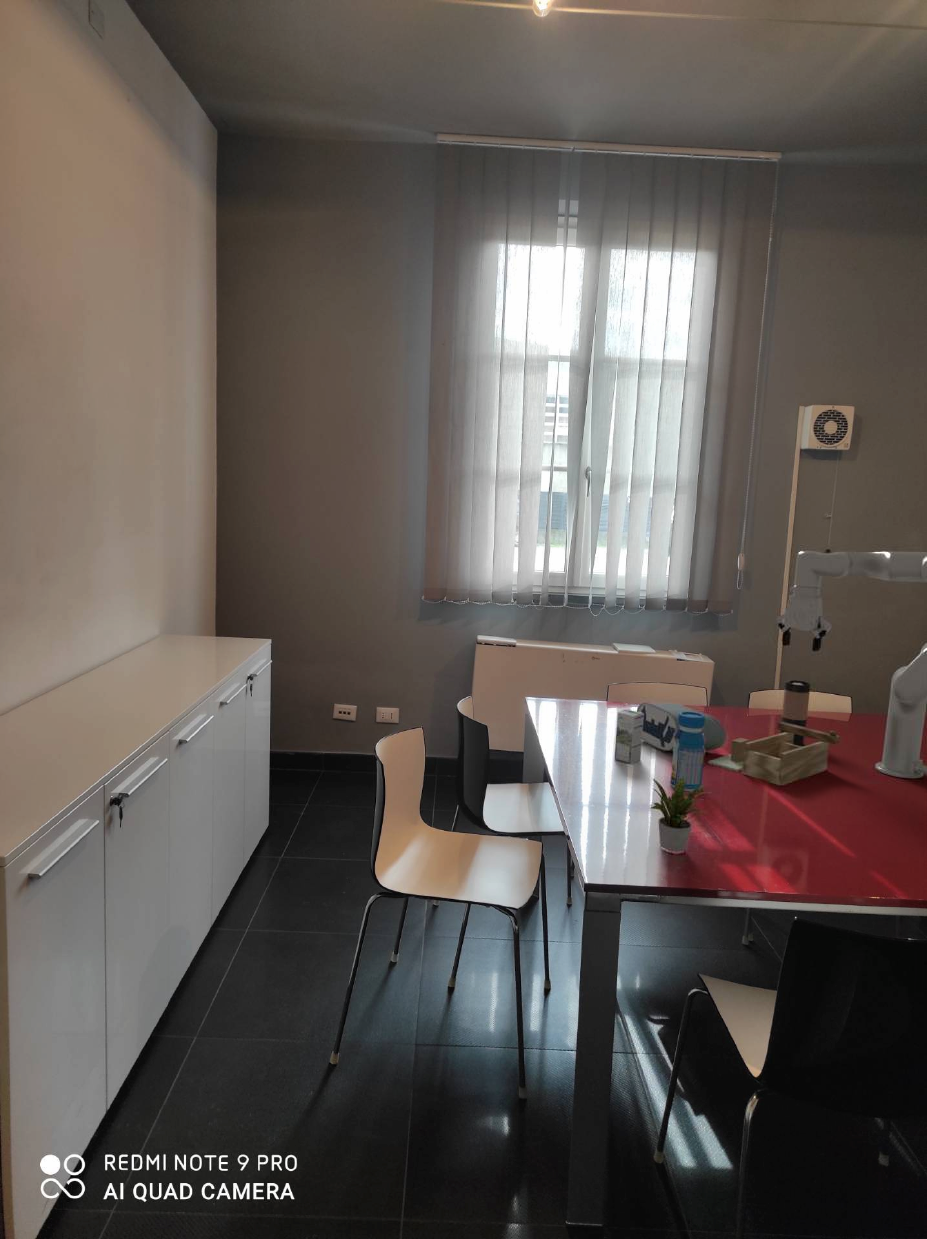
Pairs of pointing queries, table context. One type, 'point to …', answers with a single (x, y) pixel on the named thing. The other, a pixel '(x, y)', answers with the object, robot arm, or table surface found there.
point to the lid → (733, 756)
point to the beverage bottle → (689, 750)
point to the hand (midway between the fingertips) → (800, 648)
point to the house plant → (676, 816)
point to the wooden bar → (809, 732)
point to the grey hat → (675, 726)
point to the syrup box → (629, 736)
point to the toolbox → (783, 759)
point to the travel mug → (796, 706)
